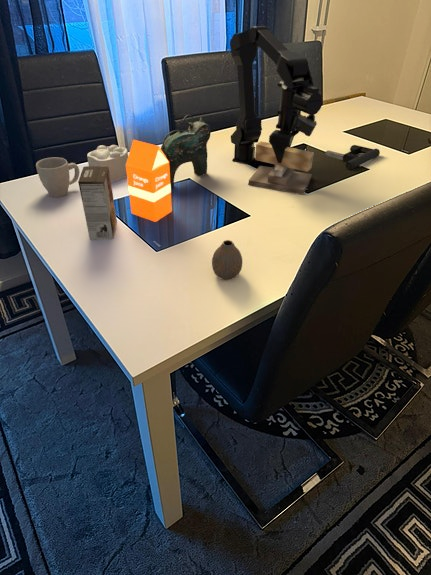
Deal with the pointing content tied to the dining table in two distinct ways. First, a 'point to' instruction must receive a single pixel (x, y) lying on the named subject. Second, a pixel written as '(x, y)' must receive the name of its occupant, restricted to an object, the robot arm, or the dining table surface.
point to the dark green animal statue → (187, 148)
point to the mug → (56, 175)
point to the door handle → (355, 156)
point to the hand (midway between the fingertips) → (283, 157)
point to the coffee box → (98, 202)
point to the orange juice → (148, 181)
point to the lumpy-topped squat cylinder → (110, 160)
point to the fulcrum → (280, 179)
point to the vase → (227, 261)
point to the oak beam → (285, 157)
